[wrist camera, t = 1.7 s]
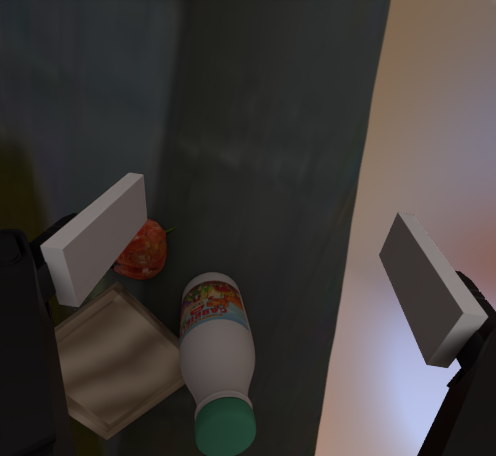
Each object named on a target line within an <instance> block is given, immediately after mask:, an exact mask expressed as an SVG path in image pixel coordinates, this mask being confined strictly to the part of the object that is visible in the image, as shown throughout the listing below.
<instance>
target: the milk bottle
mask: <svg viewBox="0 0 496 456" xmlns="http://www.w3.org/2000/svg"><path fill="white" fill-rule="evenodd" d="M179 361H180V369H181V373H182V376H183V379H184V381H185V383H186V385H187V387H188V389H189V390H190V392H191V393H192V395H193V397H194V399H195V401H196V404H197V409H196V411H195V441H196V444H197V447H198V449H199V450H200V451H201V452H202V453H203V454H205V455H207V456H235V455H237V454H239V453H241V452H243V451H244V450H245V449H247V448H248V447H249V446H250V445H251V443H252V442H253V440H254V438H255V435H256V422H255V417H254V413H253V410H252V404H251V401H250V400H249V398H248V389H249V385H250V381H251V378H252V375H253V371H254V366H255V349H254V343H253V338H252V334H251V330H250V327H249V323H248V319H247V315H246V312H245V308H244V305H243V301H242V298H241V294H240V291H239V289H238V286H237V284H236V283H235V282H234V281H233V280H232V279H231V278H230V277H228V276H227V275H224V274H222V273H217V272H209V273H204V274H201V275H199V276H197V277H195V278H194V279H192V280H191V281H190V282H189V283H188V285H187V286H186V288H185V290H184V292H183V297H182V307H181V322H180V340H179Z"/></svg>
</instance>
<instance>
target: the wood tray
mask: <svg viewBox="0 0 496 456" xmlns="http://www.w3.org/2000/svg"><path fill="white" fill-rule="evenodd" d="M54 330H55V336H56V342H57V348H58V354H59V359H60V365H61V371H62V377H63V383H64V389H65V395H66V401H67V407H68V413H69V415H70V416H72V417H73V418H74V419H76V420H77V421H79V422H80V423H82V424H83V425H85V426H86V427H88V428H89V429H91V430H92V431H94V432H95V433H97V434H98V435H100V436H101V437H103V438H104V439H106V440H108V439H109V438H110V437H112V436H113V435H115V434H116V433H117V432H119V431H120V430H122V429H123V428H124V427H126V426H127V425H129V424H130V423H131V422H133V421H134V420H136V419H137V418H138V417H140V416H141V415H143V414H144V413H145V412H147V411H148V410H150V409H151V408H152V407H154V406H155V405H157V404H158V403H159V402H161V401H162V400H163V399H165V398H166V397H168V396H169V395H170V394H172V393H173V392H175V391H176V390H177V389H179V388H180V387H182V386H183V385H184V384H186V383H185V381H184V379H183V376H182V373H181V369H180V361H179V340H180V339H179V338H178V337H177V336H176V335H175V334H174V333H172V332H171V331H170V330H169V329H168V328H167V327H166V326H165V325H164V324H163V323H162V322H161V321H160V320H159V319H158V318H157V317H155V316H154V315H153V314H152V313H151V312H150V311H149V310H148V309H147V308H146V307H145V306H144V305H143V304H142V303H141V302H140V301H138V300H137V299H136V298H135V297H134V296H133V295H132V294H131V293H130V292H129V291H128V290H127V289H126V288H125V287H124V286H123V285H121V284H120V283H119V282H118V281H116V282H115V283H114V284H112V285H111V286H110V287H108V288H107V289H106V290H104V291H103V292H102V293H100V294H99V295H98V296H96V297H95V298H94V299H92V300H91V301H90V302H88V303H87V304H86V305H84V306H83V307H82V308H80V309H79V310H78V311H76V312H75V313H74V314H72V315H71V316H70V317H68V318H67V319H66V320H64V321H63V322H62V323H60V324H59V325H58V326H56V327H55V328H54Z"/></svg>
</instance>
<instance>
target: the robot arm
mask: <svg viewBox="0 0 496 456" xmlns="http://www.w3.org/2000/svg"><path fill="white" fill-rule="evenodd" d="M146 221H147V210H146V198H145V186H144V175H142V174H135V173H128V174H127V175H126V176H124V177H123V178H122V179H121V180H120V181H118V182H117V183H116V184H115V185H114V186H112V187H111V188H110V189H109V190H107V191H106V192H105V193H104V194H103V195H101V196H100V197H99V198H98V199H97V200H95V201H94V202H93V203H92V204H90V205H89V206H88V207H87V208H86V209H84V210H83V211H82V212H81V213H80V214H76V213H73V214H71V215H68V216H66V217H63V218H61V219H60V220H59V221H58V222H56V223H55V224H54V225H53V226H51V227H50V228H49V229H47V230H46V232H44V233H42V234H41V235H40V236H38V237H37V238H36V239H35V240H33V241H32V242H31V243H29V244H28V241H27V238H26V235H25V234H24V232H23V231H20V230H17V229H4V230H0V456H76V454H75V448H74V442H73V436H72V430H71V425H70V419H69V413H68V407H67V401H66V395H65V389H64V383H63V377H62V371H61V365H60V359H59V354H58V348H57V342H56V336H55V330H54V324H53V318H52V312H51V306H50V304H49V300H50V298H51V297H52V296H53V295H54V294H55V293H56V296H57V299H58V302H59V304H61V305H67V306H73V307H79V306H80V305H81V304H82V302H83V301H84V300H85V299H86V297H87V296H88V295H89V294H90V292H91V291H92V290H93V288H94V287H95V286H96V285H97V283H98V282H99V281H100V280H101V278H102V277H103V276H104V274H105V273H106V272H107V271H108V269H109V268H110V267H111V266H112V264H113V263H114V262H115V260H116V259H117V258H118V257H119V255H120V254H121V253H122V252H123V250H124V249H125V248H126V247H127V245H128V244H129V243H130V241H131V240H132V239H133V238H134V236H135V235H136V234H137V233H138V231H139V230H140V229H141V227H142V226H143V225H144V224H145V222H146ZM379 256H380V258H381V261H382V263H383V266H384V268H385V270H386V272H387V275H388V277H389V279H390V281H391V284H392V286H393V288H394V291H395V293H396V295H397V298H398V300H399V302H400V305H401V307H402V309H403V312H404V314H405V316H406V319H407V321H408V323H409V325H410V328H411V330H412V332H413V335H414V337H415V339H416V342H417V344H418V346H419V349H420V351H421V353H422V356H423V358H424V360H425V362H426V364H427V365H431V366H438V367H444V368H448V367H449V366H450V364H451V363H452V362H453V361H454V360H455V358H456V359H457V360H458V362H459V364H460V366H461V369H460V370H459V371H458V372H457V374H456V375H455V376H454V377H453V379H452V380H451V381H450V382H449V383H448V384H447V387H449V390H448V392H447V394H446V396H445V399H444V401H443V403H442V405H441V407H440V409H439V411H438V413H437V416H436V418H435V420H434V422H433V424H432V426H431V428H430V430H429V432H428V434H427V436H426V438H425V440H424V443H423V445H422V447H421V449H420V451H419V453H418V455H417V456H496V311H495V310H494V309H493V307H492V306H491V305H490V304H489V302H488V301H487V300H485V297H484V296H483V295H482V293H481V292H479V290H478V288H477V287H476V286H475V284H474V283H473V282H472V281H471V280H470V279H469V278H468V277H466V276H465V275H464V274H462V273H461V272H460V271H454V270H453V268H452V267H451V265H450V264H449V263H448V261H447V260H446V258H445V257H444V256H443V254H442V253H441V252H440V251H439V249H438V248H437V246H436V245H435V243H434V242H433V241H432V239H431V238H430V237H429V235H428V234H427V233H426V231H425V230H424V228H423V227H422V226H421V224H420V223H419V222H418V220H417V219H416V218H415V216H414V215H413V214H407V213H400V212H398V213H397V215H396V218H395V220H394V223H393V225H392V227H391V229H390V232H389V234H388V236H387V238H386V241H385V243H384V245H383V248H382V250H381V252H380V254H379Z"/></svg>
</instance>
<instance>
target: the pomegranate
mask: <svg viewBox="0 0 496 456" xmlns="http://www.w3.org/2000/svg"><path fill="white" fill-rule="evenodd" d="M175 228H176V227H172V228H170V229H168V230H163V229H162V228H161V226H160V225H159V224H158V223H157V222H156V221H154V220H152V219H149V218H148V216H147V221H146V222H145V224H144V225H143V226H142V227H141V229H140V230H139V231H138V233H137V234H136V235H135V236H134V238H133V239H132V240H131V241H130V243H129V244H128V245H127V247H126V248H125V249H124V250H123V252H122V253H121V254H120V255H119V257H118V258H117V259H116V260H115V262H114V263H113V264H112V266H111V267H110V268H113V269H114V271H115V272H117V273H119V274H121V275H124V276H128V277H130V278H133V279H139V280H140V279H141V280H145V279H150V278H152V277H154V276H156V275H157V273H159V272H160V271H161V270H162V268H163V266H164V264H165V262H166V256H167V241H166V233H167V232H169V231H171V230H173V229H175Z"/></svg>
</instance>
